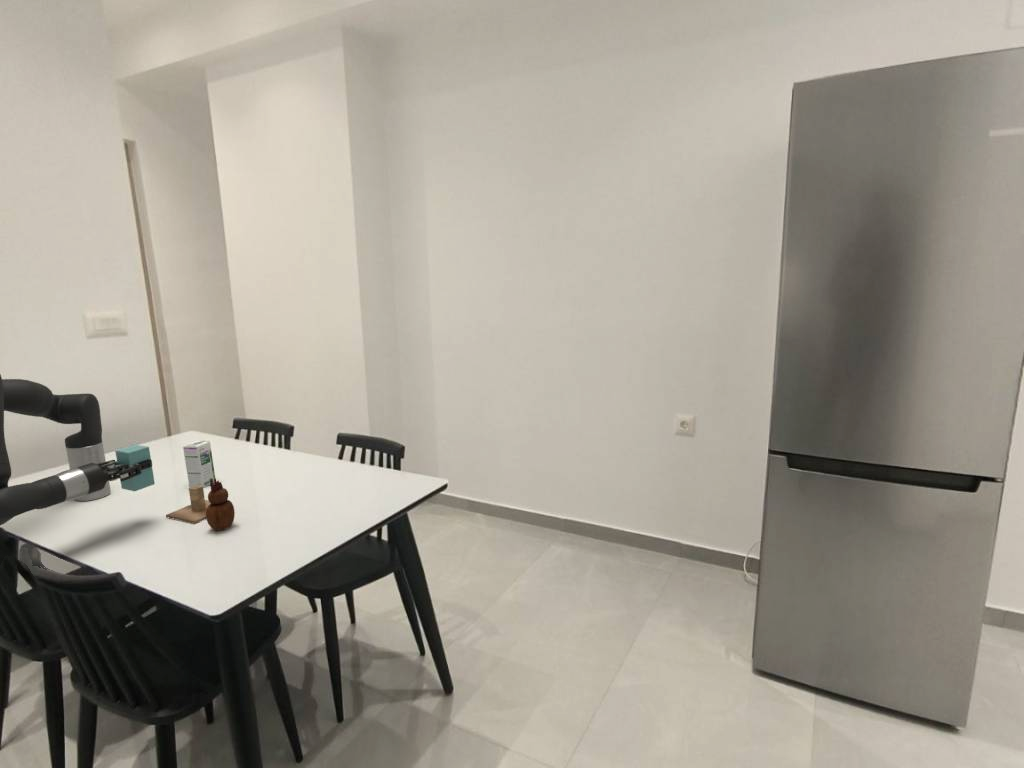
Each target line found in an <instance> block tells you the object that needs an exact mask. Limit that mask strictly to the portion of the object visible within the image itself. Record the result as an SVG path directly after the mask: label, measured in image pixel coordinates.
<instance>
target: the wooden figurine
mask: <svg viewBox="0 0 1024 768" xmlns="http://www.w3.org/2000/svg"><path fill="white" fill-rule="evenodd" d="M207 500H208V501H209V502H210V503H211V504H210V505H209V506H208V507H207V509H206V519H205V520H206V521H207V522H206V523H207V524H208V525H209V526H210V528H211V529H212V530H213V531H215V532H219V531H224V530H227V529H229V528H230V527H232V526H233V523H234V520H235V506H234V504H233V502H232V501H231V500H229V493H228V489H226V488H224V487H223V484H222V482H221V481H219V480H217V479H216V477H215V478H214V483H213V481H212V479H210V491H209V492H208V494H207Z"/></svg>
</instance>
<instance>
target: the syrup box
mask: <svg viewBox="0 0 1024 768" xmlns="http://www.w3.org/2000/svg"><path fill="white" fill-rule="evenodd" d="M182 450H183V455H184V461H185V469H186V473H187V480H188V486H189V488H191V487H194V486H196V485H198V486H203V489H205V488H206V487H208V486H211V484H210V479H212V481H213V483H214V478H216V475H215V474H216V473H215V466H214V461H213V460H214V459H213V453H212V447H211V441H209V440H195V441H193V442H190V443H188V444H185V445H183V446H182Z"/></svg>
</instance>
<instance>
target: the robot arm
mask: <svg viewBox="0 0 1024 768" xmlns="http://www.w3.org/2000/svg"><path fill="white" fill-rule="evenodd" d="M5 412H8V413H13V414H18V415H24V416H29V417H36V418H38V417H39V418H44V419H47V420H50V421H52V422H55V423H57V424H61V425H75V424H76V425H77V424H78V425H79V424H80V430H79V431H78V432H76V433H73V434H70V435H68V436H66V437H65V438H64V444H65V445H64V446H65V450H66V457H67V461H68V467H69V469H67V470H64V471H61V472H59V473H57V474H54V475H51V476H46V477H44V478H40V479H37V480H35V481H32V482H25V483H20V484H15V485H11V486H9V481H10V479H11V477H12V466H11V462H10V457H9V454H8V450H7V449H8V448H7V445H6V439H5ZM102 426H103V425H102V418H101V408H100V403H99V401H98V398H97V397H96V396H95V395H94V394H93V393H71V394H70V393H67V394H53V391H52V390H51V389H50V388H49V387H47V386H46V385H44V384H42V383H40V382H35V381H33V380H32V381H31V380H29V379H23V378H22V379H21V378H4V379H2V375H1V374H0V526H2V525H5V524H7V523H8V522H9V521H10V520H12V519H13V518H15V517H17V516H19V515H22V514H25V513H28V512H30V511H33V510H34V511H35V510H42V509H47V508H50V507H53V506H55V505H58V504H62V503H65V502H69V501H77V502H86V501H87V502H88V501H94V500H98V499H101V498H104V497H105V498H106V496H108V495H110V494H111V493H112V490H111V485H110V482H114V481H117V480H120V482H121V481H125V480H127V479H130V478H132V477H135V476H137V475H140V474H142V473H141V470H144V469H147V468H150V467H152V468H153V460H152V459H151V460H150V459H148V460H144V461H141V462H138V463H134V464H131V465H130V464H129V465H128V464H121V465H118V462H117V460H116V459H111V460H106V455H105V449H104V448H105V447H104V444H103V443H104V442H103V438H102V436H103V428H102ZM122 467H125V470H123V468H122ZM129 467H130V468H129Z"/></svg>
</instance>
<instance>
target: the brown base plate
mask: <svg viewBox="0 0 1024 768" xmlns="http://www.w3.org/2000/svg"><path fill="white" fill-rule="evenodd" d="M188 491H189V492H188V494H189V500H190V504H189V505H187V506H184V507H182V508H180V509H177V510H174V511H171V512H169V513H167V514H166V515H165V518H166V517H169V518H168V519H170V518H174V519H173V520H175V519H178V520H177V521H179V520H182V521H181V522H183V521H185V522H184V523H188V522H189V524H192V523H193V525H197V524H198V523H200V521H201V522H203V521H204V519H205V520H207V519H206V509H207V507H208V506H209V505H210V504H211V503H210V502H209V500H208V499H205V498H206V497H205V491H204V488H203V486H198V485H196V486H194V487H189V488H188ZM202 520H203V521H202Z"/></svg>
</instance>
